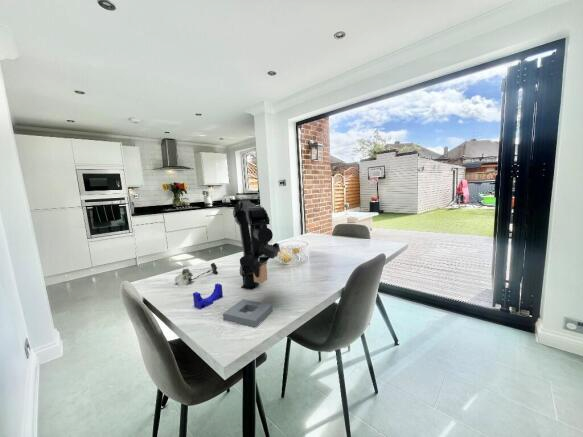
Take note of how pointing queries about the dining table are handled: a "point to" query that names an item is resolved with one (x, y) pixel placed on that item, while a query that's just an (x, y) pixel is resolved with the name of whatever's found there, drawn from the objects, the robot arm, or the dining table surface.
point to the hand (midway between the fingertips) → (260, 275)
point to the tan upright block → (261, 273)
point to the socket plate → (248, 319)
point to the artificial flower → (190, 275)
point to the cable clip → (208, 301)
